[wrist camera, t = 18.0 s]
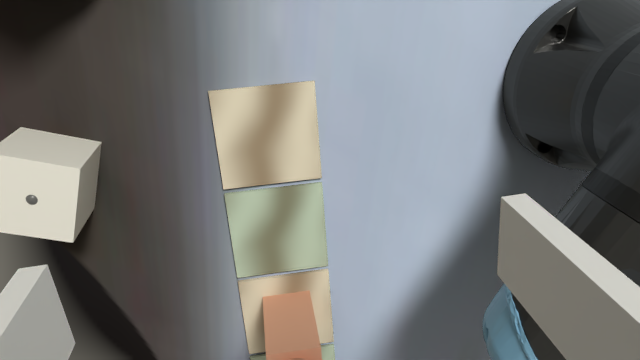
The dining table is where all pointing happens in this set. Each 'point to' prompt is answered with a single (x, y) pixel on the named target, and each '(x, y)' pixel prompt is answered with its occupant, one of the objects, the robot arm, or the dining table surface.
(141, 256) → the dining table surface
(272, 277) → the track
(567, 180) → the dining table surface
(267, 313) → the orange-brown peg figure
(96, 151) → the die
